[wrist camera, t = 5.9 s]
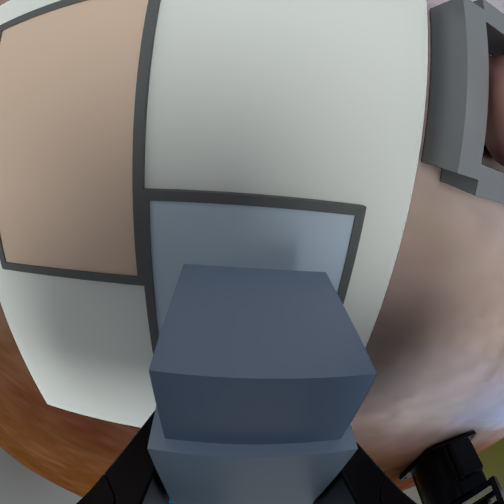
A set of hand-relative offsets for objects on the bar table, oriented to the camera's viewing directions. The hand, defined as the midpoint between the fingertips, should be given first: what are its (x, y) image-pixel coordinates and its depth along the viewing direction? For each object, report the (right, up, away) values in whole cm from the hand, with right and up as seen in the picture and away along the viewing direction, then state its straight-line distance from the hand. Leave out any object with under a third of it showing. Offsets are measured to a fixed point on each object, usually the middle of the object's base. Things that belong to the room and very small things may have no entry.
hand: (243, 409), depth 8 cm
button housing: (+10, +10, -1) cm, 14 cm away
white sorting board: (-3, +5, +1) cm, 6 cm away
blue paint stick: (0, 0, +1) cm, 1 cm away
